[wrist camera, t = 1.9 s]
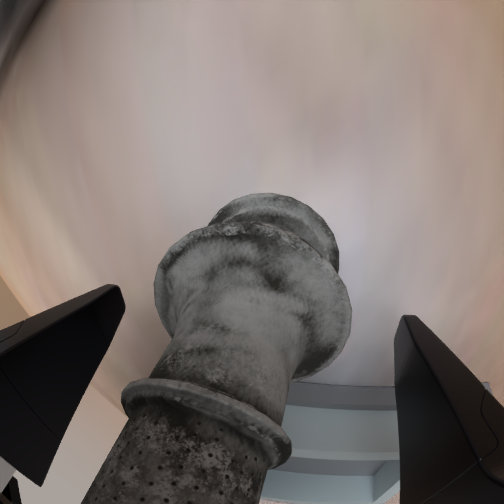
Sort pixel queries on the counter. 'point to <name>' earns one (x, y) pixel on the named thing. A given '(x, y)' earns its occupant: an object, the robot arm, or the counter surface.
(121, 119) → the counter surface
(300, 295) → the grey stone chess piece
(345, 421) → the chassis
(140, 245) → the counter surface
